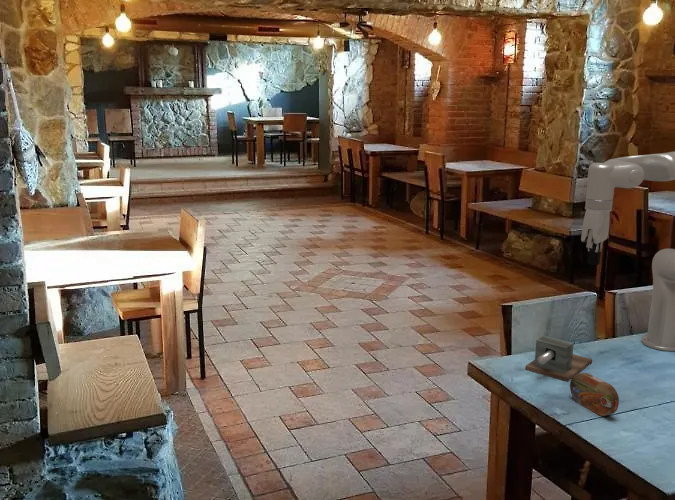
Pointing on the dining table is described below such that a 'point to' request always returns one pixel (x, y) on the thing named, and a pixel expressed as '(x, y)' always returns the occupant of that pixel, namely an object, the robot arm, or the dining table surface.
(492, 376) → the dining table surface
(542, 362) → the shaft
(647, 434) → the dining table surface
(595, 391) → the tin
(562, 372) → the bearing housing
